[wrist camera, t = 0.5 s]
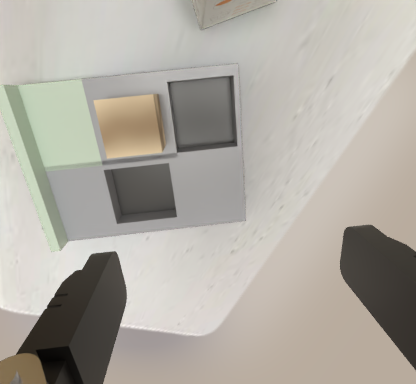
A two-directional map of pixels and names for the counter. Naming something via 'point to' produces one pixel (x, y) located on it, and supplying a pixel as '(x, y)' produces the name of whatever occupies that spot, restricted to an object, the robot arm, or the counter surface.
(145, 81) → the grey slotted tray
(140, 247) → the counter surface
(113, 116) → the block
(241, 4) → the small box
